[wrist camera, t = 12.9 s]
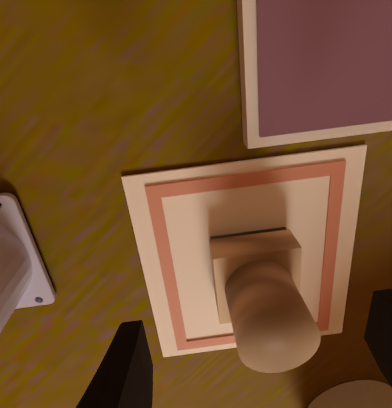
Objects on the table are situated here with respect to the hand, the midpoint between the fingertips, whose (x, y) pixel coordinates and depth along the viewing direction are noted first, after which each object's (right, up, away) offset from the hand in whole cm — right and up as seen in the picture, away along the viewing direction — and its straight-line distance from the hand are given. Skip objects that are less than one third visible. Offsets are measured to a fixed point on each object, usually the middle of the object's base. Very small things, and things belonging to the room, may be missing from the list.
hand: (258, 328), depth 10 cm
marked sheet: (+2, 0, +11) cm, 11 cm away
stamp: (+2, 0, +11) cm, 11 cm away
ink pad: (+4, +11, +6) cm, 13 cm away
